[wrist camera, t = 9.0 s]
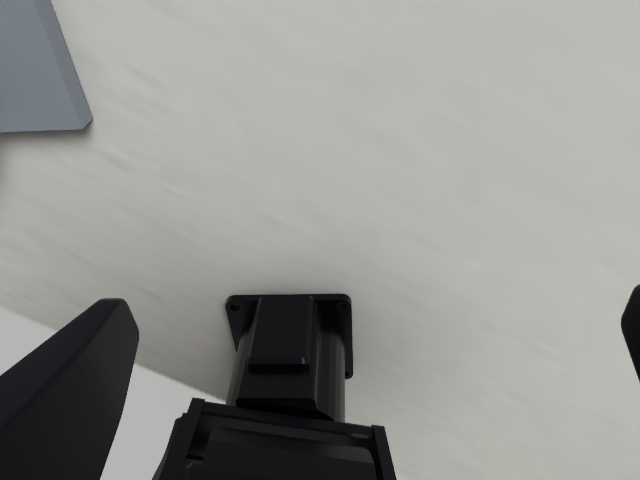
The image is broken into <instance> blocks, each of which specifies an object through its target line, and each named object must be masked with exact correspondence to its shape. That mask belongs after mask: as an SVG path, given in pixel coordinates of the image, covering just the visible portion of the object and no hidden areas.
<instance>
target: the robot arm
mask: <svg viewBox="0 0 640 480" xmlns="http://www.w3.org/2000/svg"><path fill="white" fill-rule="evenodd" d="M339 303H344V304H339ZM234 304H237V305H238V306H236V305H234ZM226 311H227V315H228V319H229V323H230V327H231V331H232V336H233V340H234V344H235V348H236V352H237V355H236V359H235V364H234V368H233V373H232V377H231V382H230V386H229V391H228V395H227V400H226V404H218V403H211V402H205V400H204V399H199V398H192V401H191V403H190V406H189V409H188V412H187V413H183V415H182V417H180V418H178V419H176V420H175V423H174V426H173V430H172V433H171V436H170V439H169V442H168V446H167V448H166V451H165V454H164V456H163V458H162V460H161V463H160V465H159V466H158V468H157V470H156V472H155V474H154V476H153V478H152V480H396V476H395V471H394V467H393V463H392V458H391V454H390V450H389V445H388V441H387V437H386V432H385V428H384V426H378V425H371V426H364V425H358V424H351V423H345V379H349V378H351V377H352V376H353V348H352V309H351V298H350V297H349V296H347V295H345V294H294V295H234V296H230V297H229V298H228V299H227V302H226ZM621 328H622V333H623V335H624V338H625V341H626V344H627V347H628V350H629V353H630V356H631V359H632V361H633V364H634V367H635V370H636V373H637V376H638V379H639V382H640V284H639V285H637V286H636V287H635V288H634V290H633V292H632V294H631V296H630V299H629V301H628V303H627V306H626V308H625V310H624V313H623V315H622V318H621ZM138 342H139V330H138V326H137V324H136V322H135V320H134V317H133V315H132V313H131V311H130V308H129V306H128V304H127V302H126V301H125V300H124V299H121V298H105V299H101V300H99V301H97V302H96V303H94V304H93V305H92V306H91V307H89V308H88V309H87V310H85V311H84V312H83V313H81V314H80V315H79V316H78V317H76V318H75V319H74V320H72V321H71V322H70V323H68V324H67V325H66V326H65V327H63V328H62V329H61V330H59V331H58V332H57V333H55V334H54V335H53V336H52V337H50V338H49V339H48V340H46V341H45V342H44V343H43V344H41V345H40V346H39V347H37V348H36V349H35V350H33V351H32V352H31V353H29V354H28V355H27V356H25V357H24V358H23V359H22V360H20V361H19V362H18V363H16V364H15V365H14V366H12V367H11V368H10V369H9V370H7V371H6V372H5V373H3V374H2V375H1V376H0V480H100V477H101V475H102V472H103V469H104V466H105V463H106V460H107V457H108V454H109V451H110V448H111V445H112V442H113V440H114V437H115V434H116V431H117V428H118V425H119V422H120V419H121V415H122V412H123V407H124V403H125V399H126V395H127V390H128V386H129V382H130V377H131V373H132V368H133V364H134V360H135V355H136V351H137V346H138Z"/></svg>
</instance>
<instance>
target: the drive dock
mask: <svg viewBox="0 0 640 480" xmlns="http://www.w3.org/2000/svg"><path fill="white" fill-rule="evenodd" d="M92 119H93V117H92V115H91V112H90V109H89V106H88V104H87V101H86V98H85V95H84V92H83V90H82V87H81V84H80V81H79V79H78V76H77V73H76V70H75V68H74V65H73V62H72V59H71V56H70V54H69V51H68V48H67V45H66V43H65V40H64V37H63V34H62V32H61V29H60V26H59V23H58V20H57V18H56V15H55V12H54V9H53V7H52V4H51V1H50V0H0V132H20V131H46V130H73V129H83V128H84V127H85V126H86V125H87V124H88V123H89V122H90V121H91V120H92Z"/></svg>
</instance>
